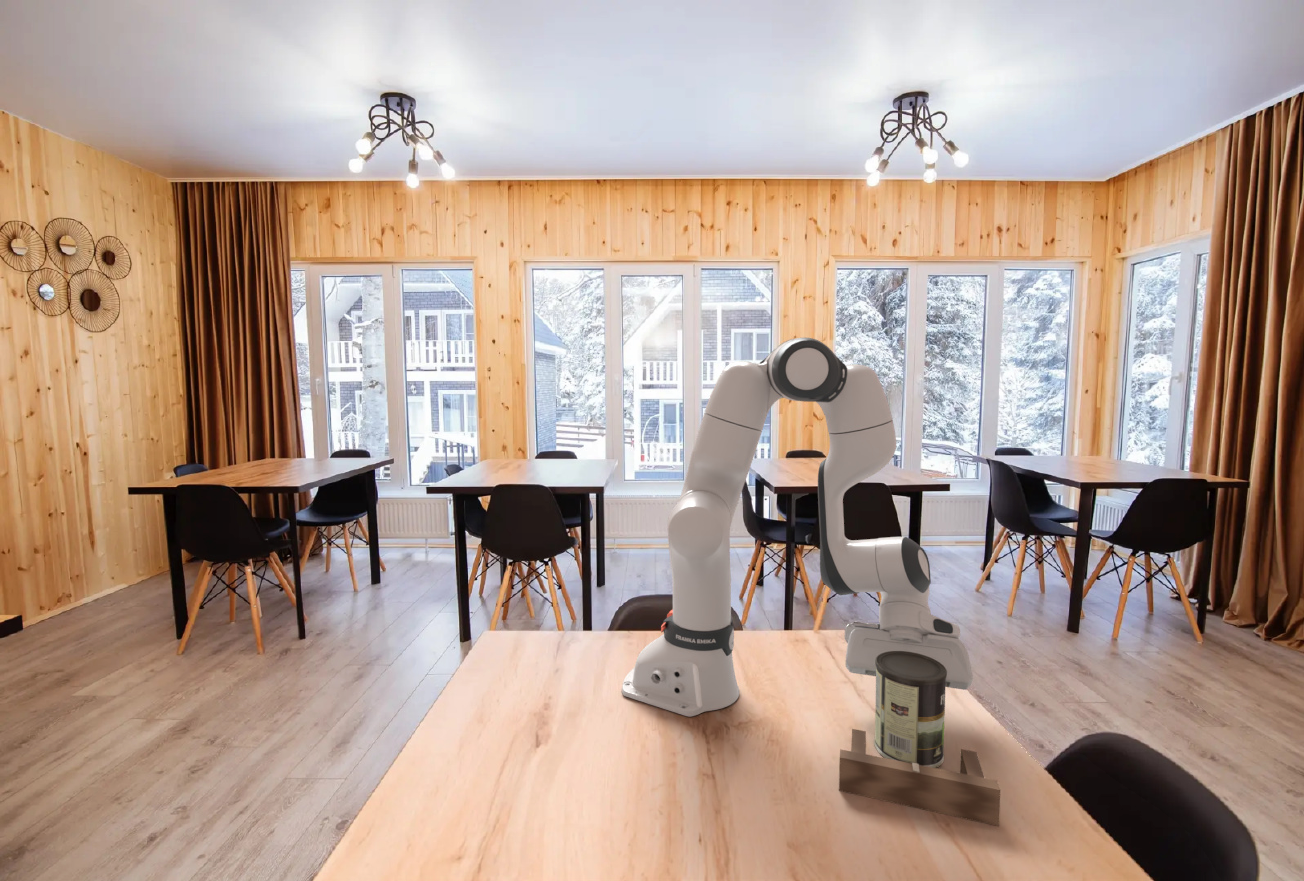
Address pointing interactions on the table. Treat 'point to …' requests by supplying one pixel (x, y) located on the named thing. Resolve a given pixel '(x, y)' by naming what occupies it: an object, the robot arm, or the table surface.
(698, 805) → the table surface
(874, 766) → the walnut rail
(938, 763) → the coffee can
